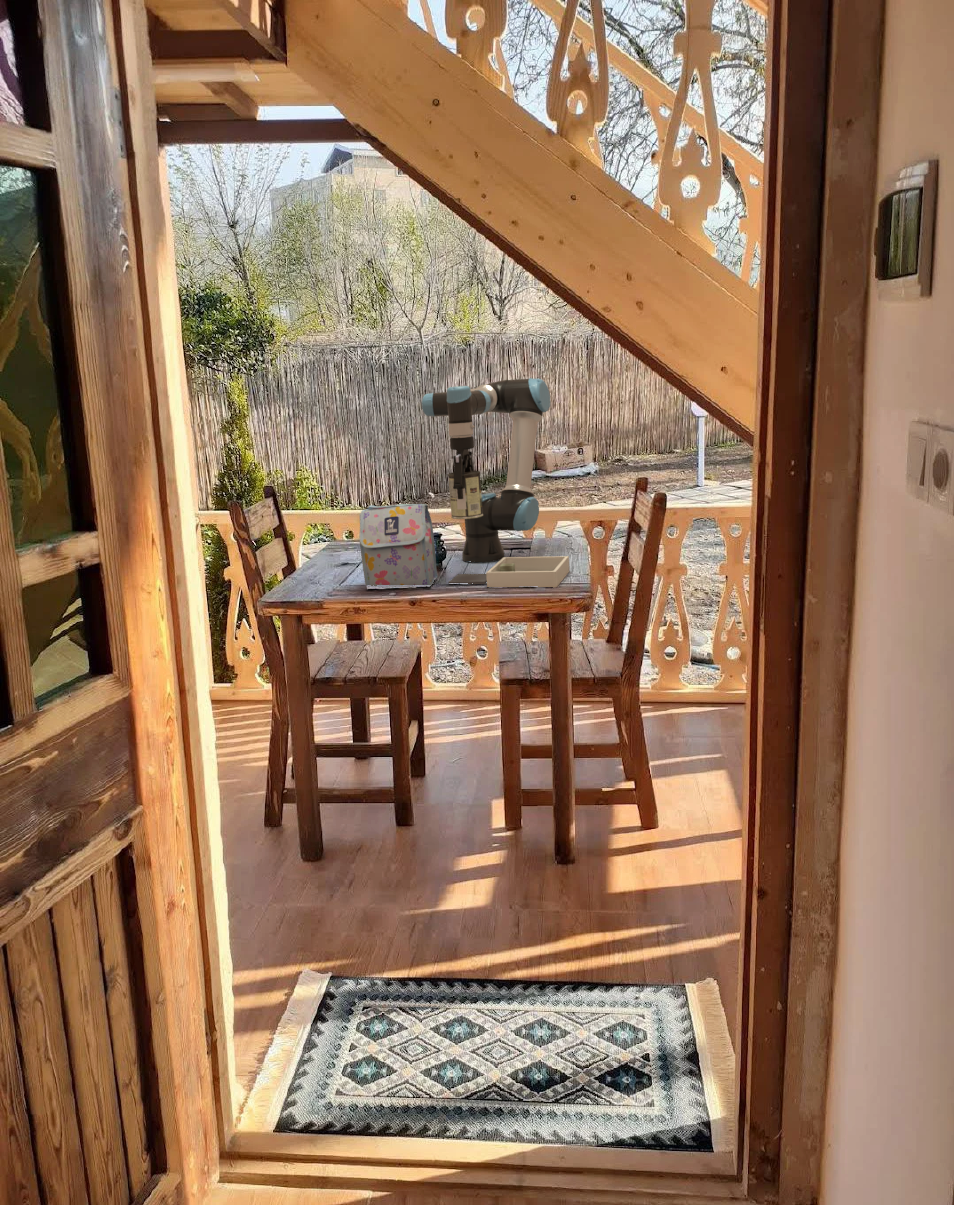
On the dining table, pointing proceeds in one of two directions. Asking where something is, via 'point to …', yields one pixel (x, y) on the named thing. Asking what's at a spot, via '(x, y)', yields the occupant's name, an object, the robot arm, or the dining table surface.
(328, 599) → the dining table surface
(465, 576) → the charcoal mat
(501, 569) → the khaki block
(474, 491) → the coffee can
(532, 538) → the dining table surface
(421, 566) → the lunch bag
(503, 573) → the open crate
